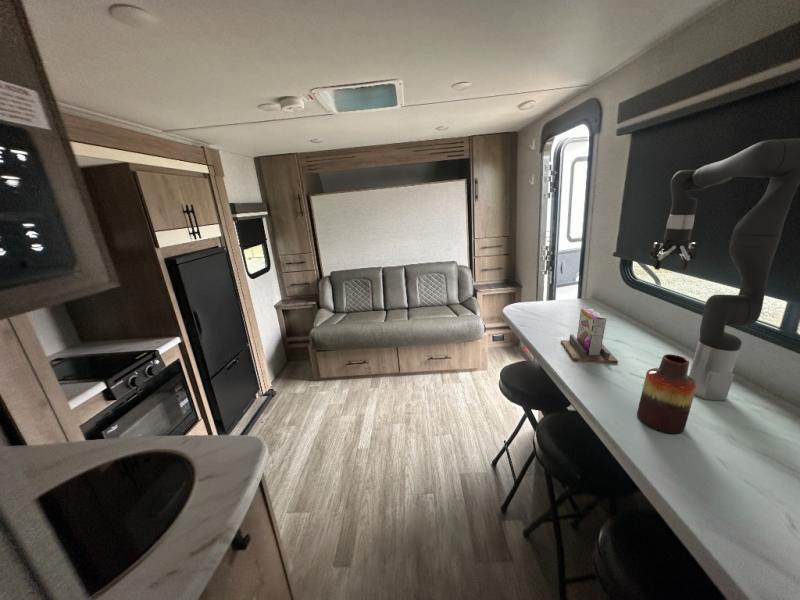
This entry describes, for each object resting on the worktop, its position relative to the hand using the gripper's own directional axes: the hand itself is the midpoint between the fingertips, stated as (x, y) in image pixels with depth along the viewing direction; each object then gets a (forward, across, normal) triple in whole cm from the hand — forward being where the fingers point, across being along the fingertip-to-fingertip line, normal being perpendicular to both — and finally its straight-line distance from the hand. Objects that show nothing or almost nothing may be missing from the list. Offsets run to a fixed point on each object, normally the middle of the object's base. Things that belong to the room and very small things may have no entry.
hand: (669, 269), depth 124 cm
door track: (+34, -27, -7) cm, 44 cm away
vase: (+34, -22, -50) cm, 65 cm away
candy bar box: (+33, -27, -7) cm, 43 cm away
